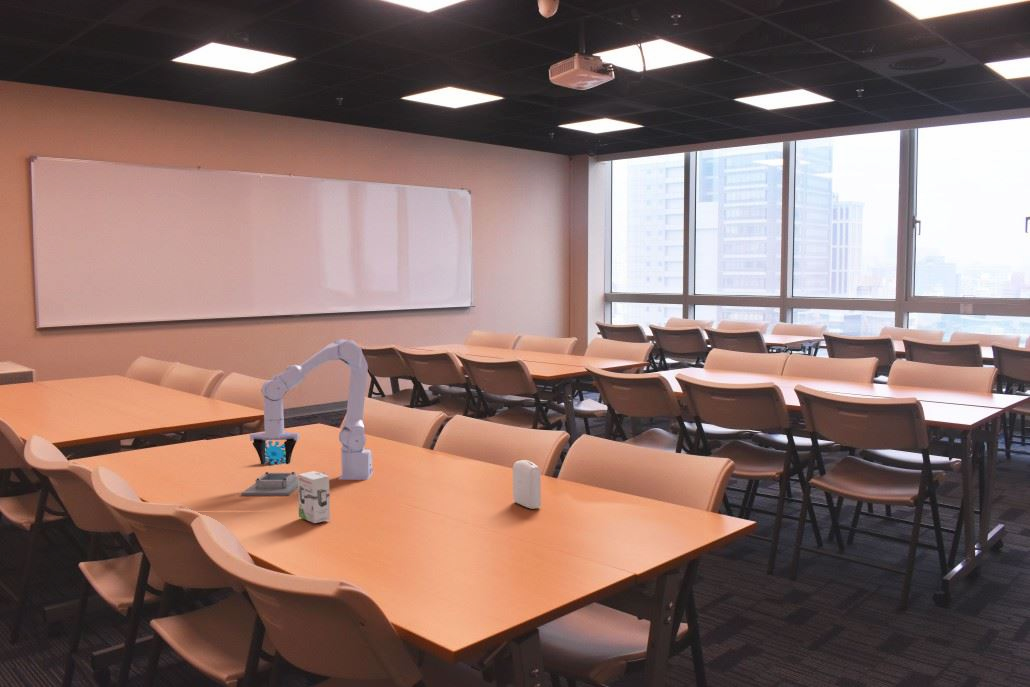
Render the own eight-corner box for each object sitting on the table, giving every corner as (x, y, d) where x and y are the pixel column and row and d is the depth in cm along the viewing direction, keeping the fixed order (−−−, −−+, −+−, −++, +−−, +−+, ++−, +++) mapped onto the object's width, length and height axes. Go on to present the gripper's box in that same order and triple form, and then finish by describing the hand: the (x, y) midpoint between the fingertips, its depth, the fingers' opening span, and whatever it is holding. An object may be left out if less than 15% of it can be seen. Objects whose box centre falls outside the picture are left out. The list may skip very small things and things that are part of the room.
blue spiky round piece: (266, 465, 276) (257, 441, 280) (261, 475, 279) (252, 451, 284) (296, 460, 283) (287, 437, 287) (291, 470, 286) (282, 446, 291)
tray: (308, 479, 261) (307, 467, 260) (288, 495, 241) (288, 483, 241) (264, 479, 261) (264, 467, 261) (241, 495, 241) (241, 483, 241)
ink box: (297, 517, 219) (296, 473, 218) (314, 513, 222) (313, 470, 221) (314, 523, 213) (313, 478, 212) (331, 519, 216) (330, 475, 215)
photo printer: (511, 501, 232) (510, 458, 231) (524, 499, 234) (523, 456, 233) (529, 510, 223) (529, 465, 222) (543, 508, 225) (542, 463, 224)
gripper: (301, 416, 253) (303, 460, 254) (255, 417, 254) (256, 460, 255) (294, 420, 246) (296, 465, 247) (246, 421, 247) (248, 465, 248)
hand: (275, 463), depth 250 cm, fingers open, 7 cm apart
